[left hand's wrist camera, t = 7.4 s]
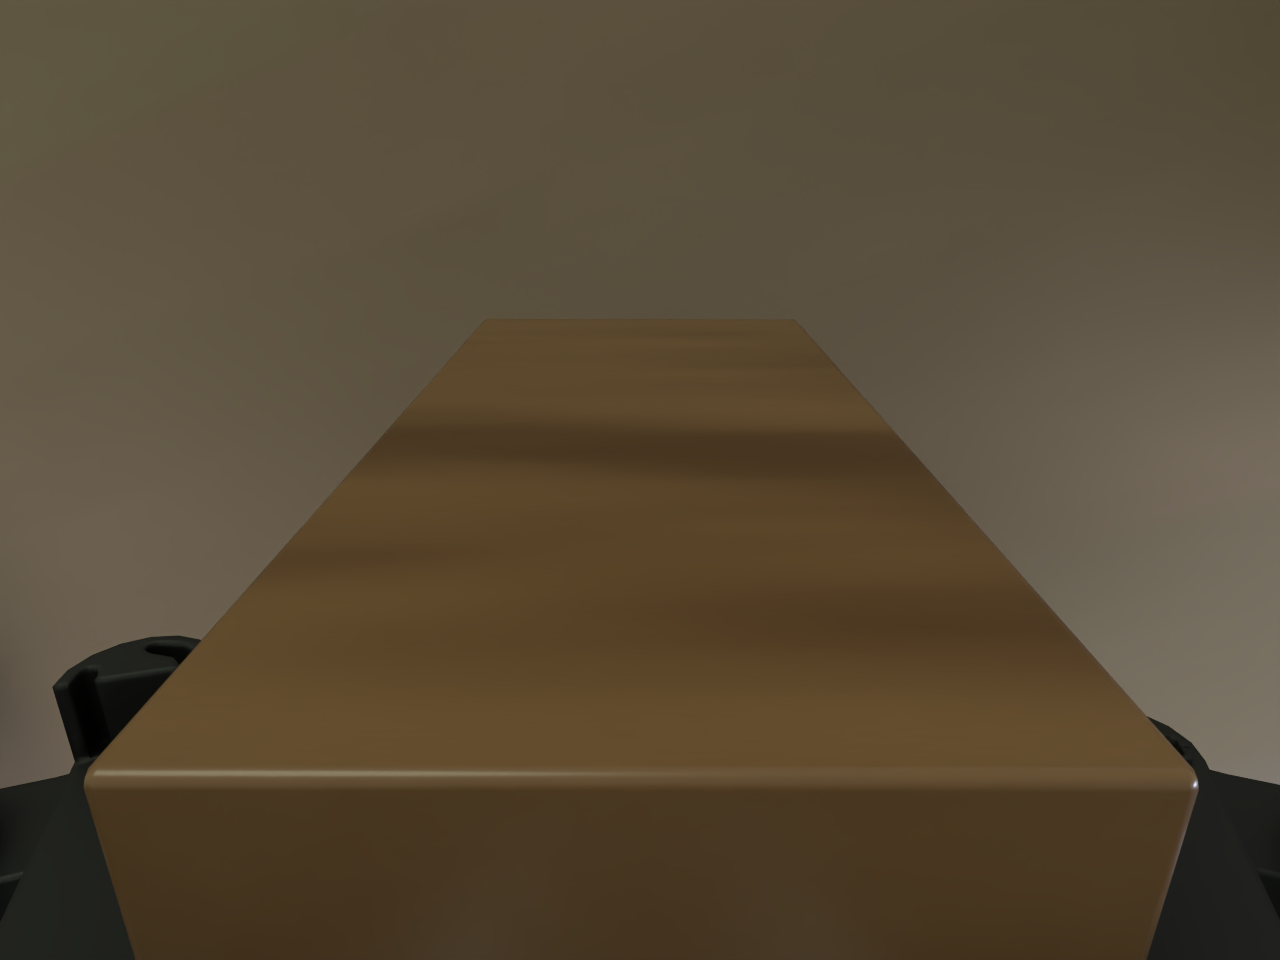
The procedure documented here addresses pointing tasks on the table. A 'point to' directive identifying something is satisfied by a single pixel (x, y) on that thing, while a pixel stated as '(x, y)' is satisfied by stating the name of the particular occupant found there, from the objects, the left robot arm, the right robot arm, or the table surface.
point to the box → (640, 694)
